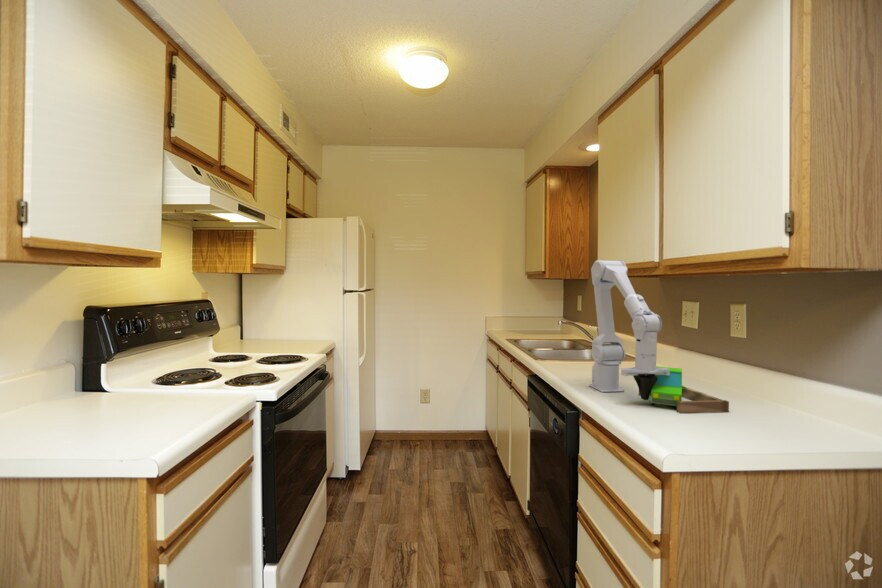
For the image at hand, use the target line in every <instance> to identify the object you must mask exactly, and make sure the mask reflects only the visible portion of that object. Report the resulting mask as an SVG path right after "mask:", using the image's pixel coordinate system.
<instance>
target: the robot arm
mask: <svg viewBox="0 0 882 588" xmlns="http://www.w3.org/2000/svg"><path fill="white" fill-rule="evenodd" d="M590 272H591V282H592V286H593V290H594V301H595V303H594V304H595V313H596V320H597V322H596V323H597V331H598V335H597V336H596V337H595V338H594V339H593V340H592V341H591V345H592V346H591V347H592V348H591V350H590V351H591V352H590V353H591V354H590V356H591V358H592V360H593V361H594V363H593V364H592V368H591V383H589V386H590V387H592V388H594V389H595V390H598V391H600V392H603V393H612V392H613V393H614V392H615V393H616V392H618V393H619V392H620V393H621V392H625V390H624V389H622V388H620V387H619V384H620V374H621V376H624V377H628V376H632V377H633V380H634V381H635V383H636V385H637V388H638V392H639V391H640V395H641V396H640V395H639V396H640V399H641V400H644V401H649V399H650V397H651V396H650V393H651V389H652V388H653V386H654V384H655V383H656V382H657V380H658V377H656V376H655V375H670V369H667V368H656V366H657V351H658V350H657V349H658V348H657V347H658V333H660V332H661V330H662V327H663V322H662V319H661V316H660V315H659V314H657V313H654V311H652V310H651V309H650V308H649V306H648V304H647V302H646V301H645V298H644V297H643V296H642V295H641V294H638V293H636V291H635V289H634V287H633V284H632V283H631V281H630V279H629V277H628V266H627V265H626V263H625V261H623V260H602V259H597V260H595V261H594V263H593V264H592V266H591V268H590ZM614 286H616V288H617V289H618V291H619V292H620V294H621V295H622V296H623V298H624V299H625V300H624V301H623V305H624V307H625V308H626V310H627V312H628V314H629V316H630V318H631V319H632V322H631V329H632V331H633V337H634V339H635V353H634V354H635V363H634V366H635V367H627V368H626V367H624V368H621V369H620V365H622V362H623V361H624V360H625V358H626V349H625V347H624V345H623V340H622V339H621V338H620V336H618V335H616V328H615V321H614V311H613V301H612V294H611V293H612V292H611V289H612V288H613V287H614Z"/></svg>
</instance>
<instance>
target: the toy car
mask: <svg viewBox="0 0 882 588" xmlns="http://www.w3.org/2000/svg"><path fill="white" fill-rule="evenodd" d="M656 368H667V369H670V375H655V376H656V377H658V380H657V382H656V383H655V384H654V386H653V388H652V389H651V396H650V405H651V406H655V405H656V404H658V405H666V406H673V407H677V401H683V400H682V398H683V397H682V389H686V386H684V387H682V386H683V368H680V367H670V366H669V367H668V366H667V367H666V366H658V365H656Z"/></svg>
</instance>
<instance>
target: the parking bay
mask: <svg viewBox="0 0 882 588" xmlns="http://www.w3.org/2000/svg"><path fill="white" fill-rule="evenodd" d="M682 387H686V386H685V385H682ZM638 396H640V397H641V395H640V391H639V390H638ZM649 397H651V393H650V396H649ZM682 398H685V399H687V400H682V401H677V406H676V413H678V412H679V413H678V414H699V413H698V412H711V413H729V412H730V406H729V405H730V401H729V400H726V399H722V398H718V397H715V396H713V395H709V394H707V393H704V392H701V391H698V390H695V389H693V388H690V387H686V389H682Z"/></svg>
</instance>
